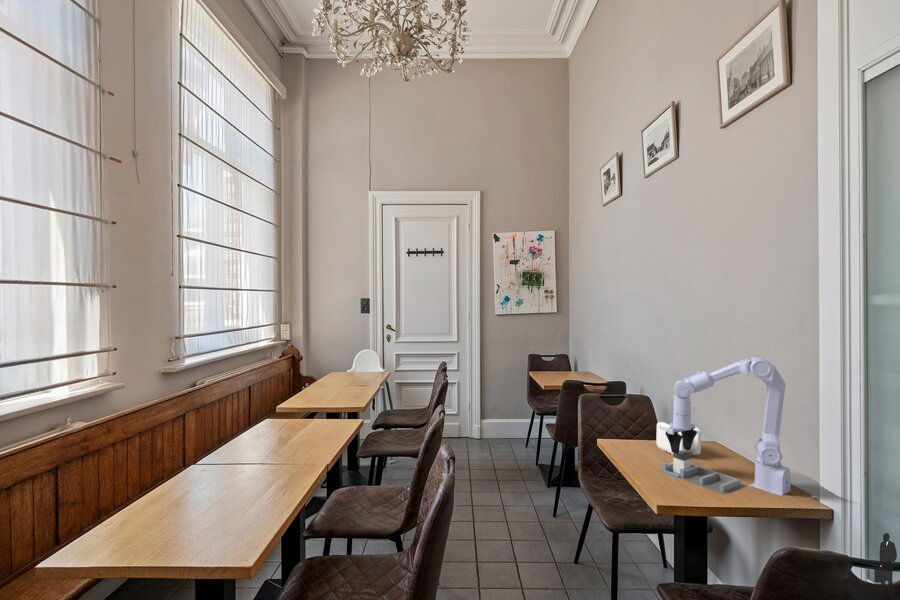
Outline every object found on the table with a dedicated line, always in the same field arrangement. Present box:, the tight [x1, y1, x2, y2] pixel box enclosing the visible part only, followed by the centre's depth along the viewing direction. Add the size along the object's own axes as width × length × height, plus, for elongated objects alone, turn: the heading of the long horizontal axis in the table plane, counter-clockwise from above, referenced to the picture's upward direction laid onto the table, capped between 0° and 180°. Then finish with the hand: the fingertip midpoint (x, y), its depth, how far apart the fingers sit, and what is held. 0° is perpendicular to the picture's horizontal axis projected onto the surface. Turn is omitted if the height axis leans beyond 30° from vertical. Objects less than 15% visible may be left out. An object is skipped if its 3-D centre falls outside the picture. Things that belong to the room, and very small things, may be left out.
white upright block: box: [672, 450, 691, 473], centre depth 165 cm, size 4×4×7 cm
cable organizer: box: [656, 421, 702, 456], centre depth 188 cm, size 15×11×12 cm
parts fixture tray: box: [657, 461, 744, 495], centre depth 160 cm, size 23×13×3 cm, turn 33°
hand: (681, 451), depth 165 cm, fingers open, 7 cm apart
